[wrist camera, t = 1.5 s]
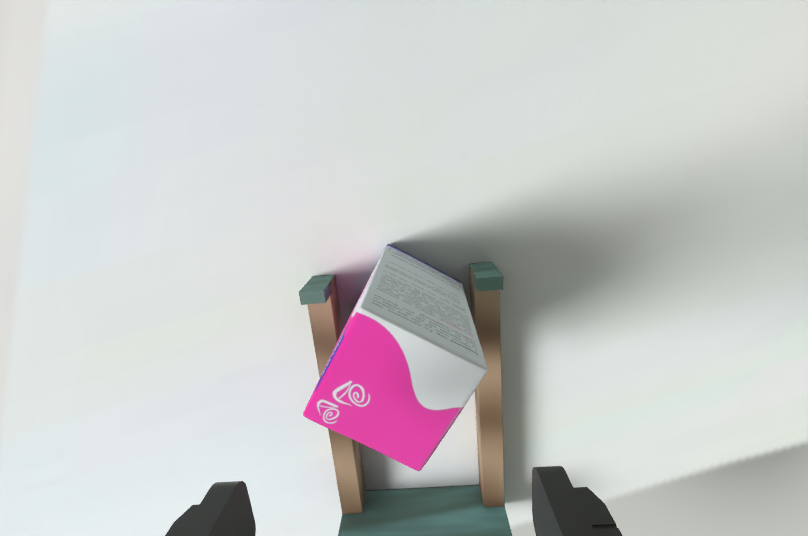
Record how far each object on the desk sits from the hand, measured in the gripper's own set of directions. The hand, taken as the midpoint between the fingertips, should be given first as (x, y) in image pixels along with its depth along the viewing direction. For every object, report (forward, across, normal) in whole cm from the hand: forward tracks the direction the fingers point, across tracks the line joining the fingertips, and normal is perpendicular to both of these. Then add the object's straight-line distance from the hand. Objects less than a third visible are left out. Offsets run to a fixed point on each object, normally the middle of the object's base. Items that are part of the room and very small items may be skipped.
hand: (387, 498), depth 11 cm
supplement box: (+16, 0, 0) cm, 16 cm away
